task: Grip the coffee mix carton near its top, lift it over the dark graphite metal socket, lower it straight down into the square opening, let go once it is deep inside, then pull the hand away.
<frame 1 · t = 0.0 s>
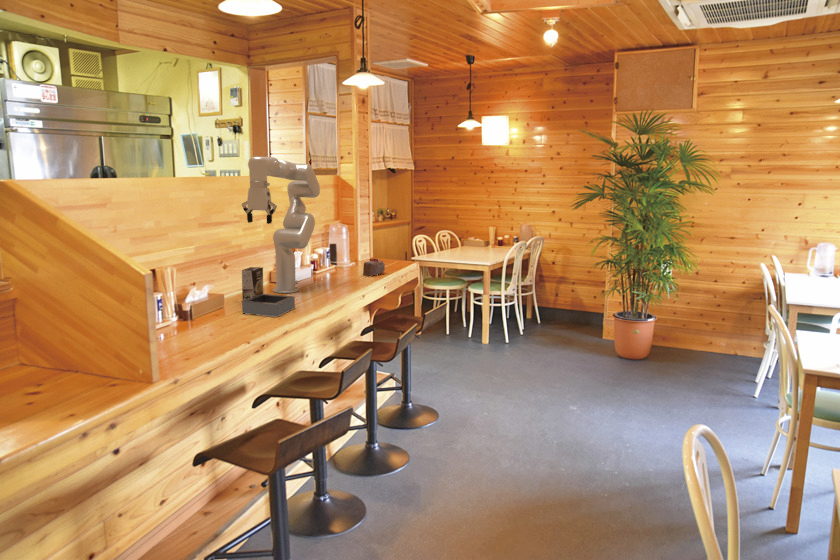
hand: (259, 222, 267), 37 cm above the table, tool pointing down, fingers open, 9 cm apart
socket: (269, 310, 258), on the table
coffee box: (253, 303, 271), on the table
food item: (373, 275, 346), on the table
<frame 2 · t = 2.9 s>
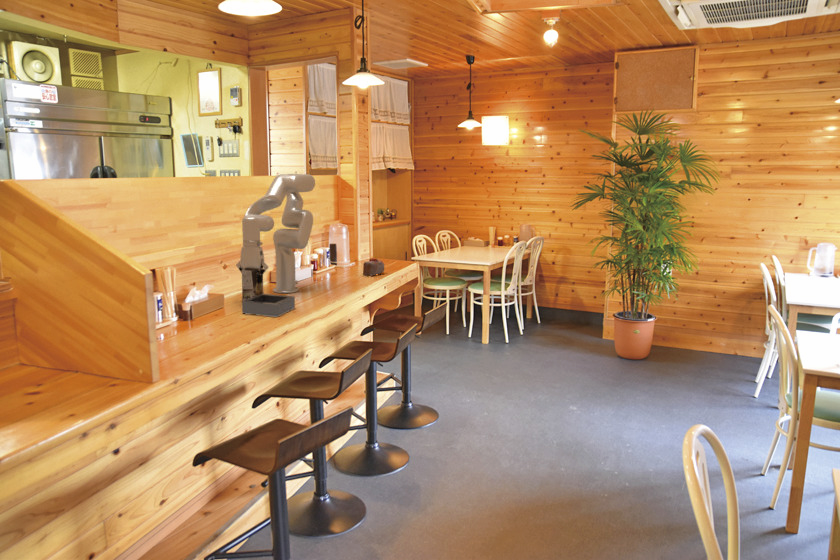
hand: (252, 282, 269), 10 cm above the table, tool pointing down, fingers closed on coffee box, 6 cm apart
coffee box: (253, 303, 271), on the table, touching gripper
everything else where it was.
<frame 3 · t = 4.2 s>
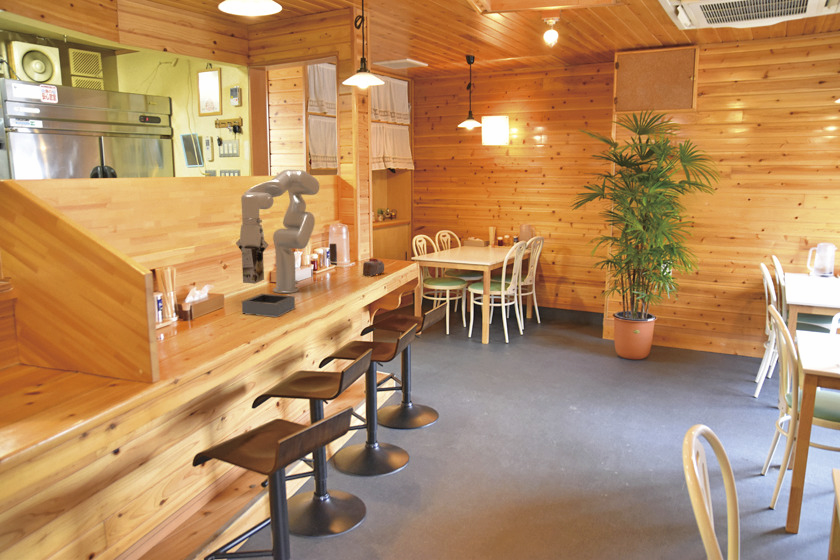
hand: (252, 260, 268), 20 cm above the table, tool pointing down, fingers closed on coffee box, 6 cm apart
coffee box: (253, 281, 270), point 10 cm above the table, touching gripper
everything else where it was.
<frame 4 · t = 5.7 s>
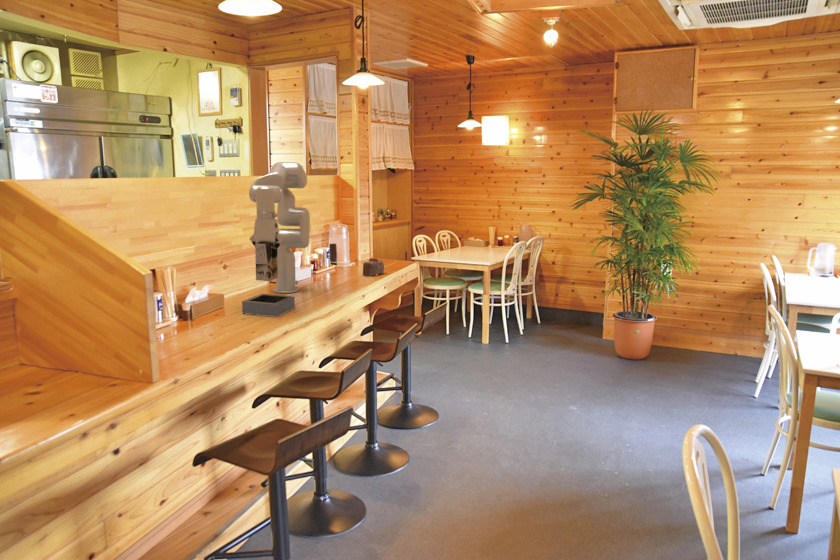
hand: (266, 256, 254), 24 cm above the table, tool pointing down, fingers closed on coffee box, 6 cm apart
coffee box: (267, 279, 256), point 14 cm above the table, touching gripper
everything else where it was.
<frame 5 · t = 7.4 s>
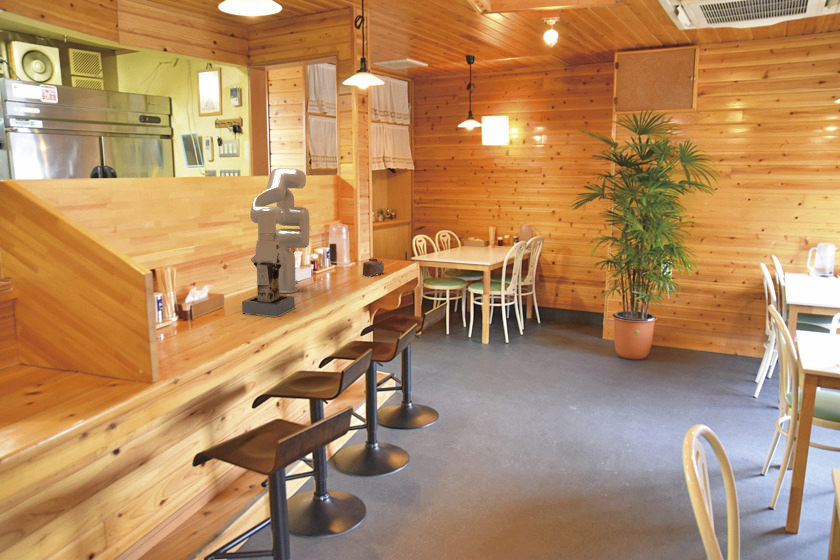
hand: (268, 277, 255), 15 cm above the table, tool pointing down, fingers closed on coffee box, 6 cm apart
coffee box: (268, 300, 257), point 5 cm above the table, touching gripper
everything else where it was.
when the fingers open (11 cm above the table, at t = 8.7 s): coffee box stays where it is, resting on socket.
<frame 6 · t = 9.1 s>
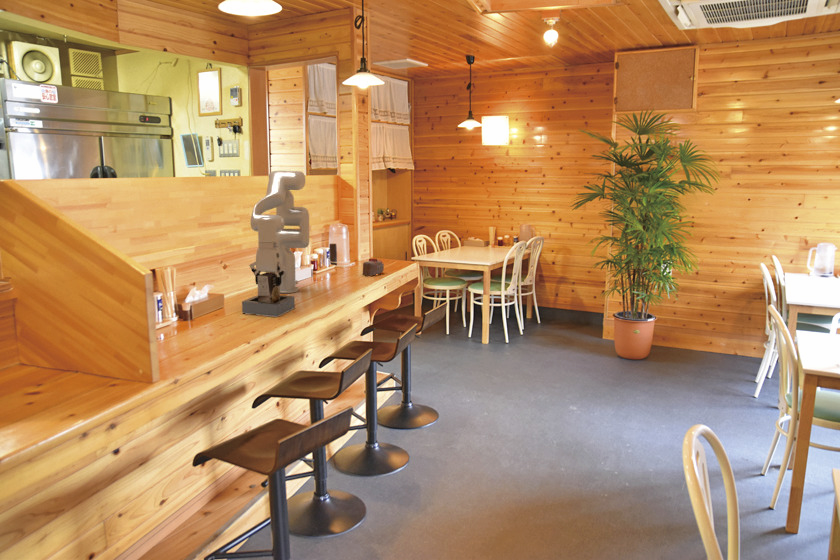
hand: (268, 284, 255), 12 cm above the table, tool pointing down, fingers open, 9 cm apart
coffee box: (269, 310, 258), resting on socket
everything else where it was.
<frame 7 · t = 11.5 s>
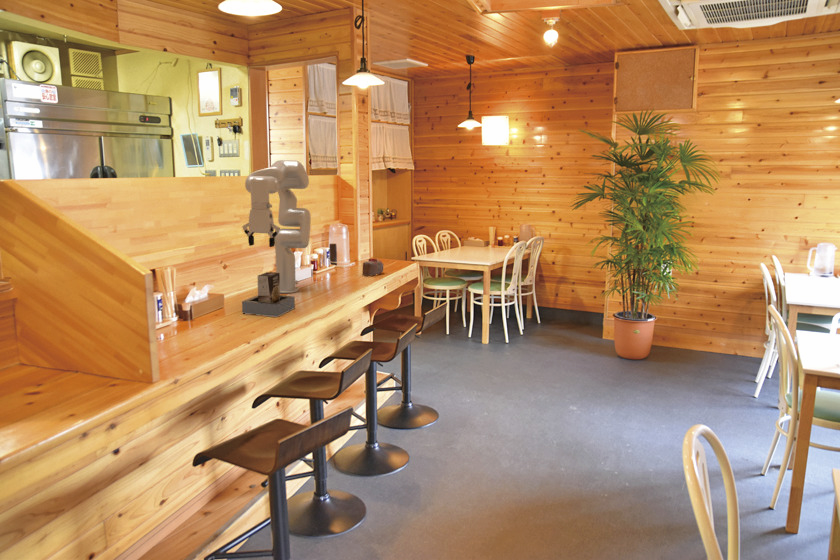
hand: (261, 245, 256), 28 cm above the table, tool pointing down, fingers open, 9 cm apart
nothing on the table moved.
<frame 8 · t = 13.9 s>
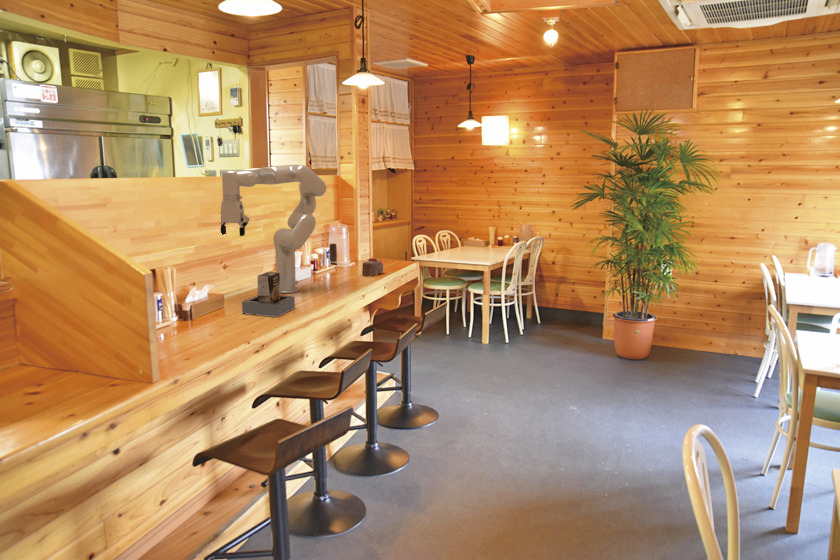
hand: (232, 235, 272), 30 cm above the table, tool pointing down, fingers open, 9 cm apart
nothing on the table moved.
at the end: coffee box 0.2 cm off-centre on the socket, point 0.2 cm above the socket's base; coffee box tilted 0°; the gripper is holding nothing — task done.
